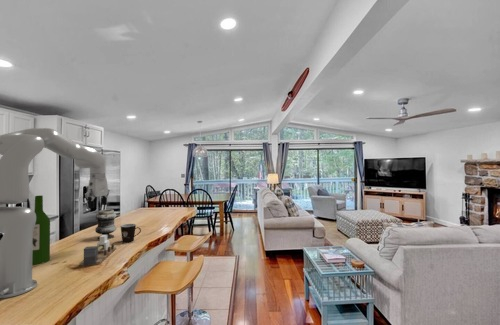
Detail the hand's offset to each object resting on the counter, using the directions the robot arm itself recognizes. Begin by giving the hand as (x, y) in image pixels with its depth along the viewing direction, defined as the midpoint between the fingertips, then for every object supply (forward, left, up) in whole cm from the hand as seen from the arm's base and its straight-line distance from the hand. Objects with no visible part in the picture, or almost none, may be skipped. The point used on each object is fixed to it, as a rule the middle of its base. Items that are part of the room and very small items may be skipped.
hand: (97, 206), depth 140 cm
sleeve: (-8, -6, -22) cm, 24 cm away
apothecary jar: (+23, +4, -25) cm, 34 cm away
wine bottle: (-15, +21, -25) cm, 35 cm away
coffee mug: (+11, -14, -25) cm, 30 cm away
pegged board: (-13, -6, -24) cm, 28 cm away
